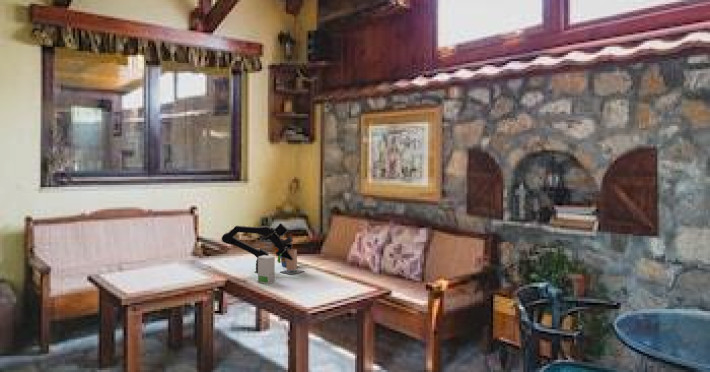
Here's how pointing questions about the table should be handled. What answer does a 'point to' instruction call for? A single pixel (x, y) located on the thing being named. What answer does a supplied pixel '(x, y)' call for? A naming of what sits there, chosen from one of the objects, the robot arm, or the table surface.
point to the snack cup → (282, 260)
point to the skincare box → (266, 269)
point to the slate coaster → (292, 272)
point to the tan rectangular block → (291, 263)
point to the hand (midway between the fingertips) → (293, 258)
